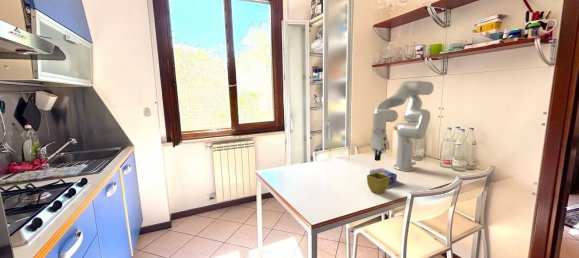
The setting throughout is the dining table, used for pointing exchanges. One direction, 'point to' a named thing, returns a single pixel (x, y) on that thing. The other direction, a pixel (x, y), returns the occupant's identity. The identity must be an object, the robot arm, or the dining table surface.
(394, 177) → the ink cartridge box
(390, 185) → the mat
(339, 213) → the dining table surface
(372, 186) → the flower pot
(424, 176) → the dining table surface
